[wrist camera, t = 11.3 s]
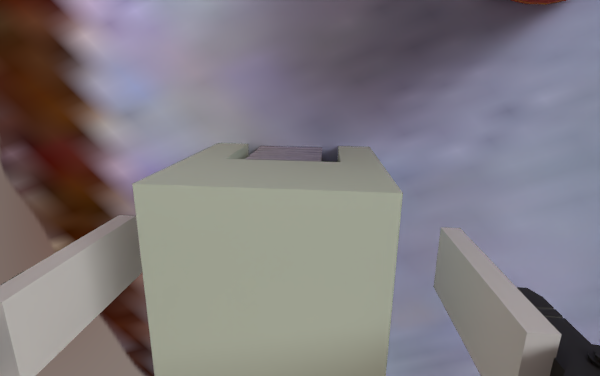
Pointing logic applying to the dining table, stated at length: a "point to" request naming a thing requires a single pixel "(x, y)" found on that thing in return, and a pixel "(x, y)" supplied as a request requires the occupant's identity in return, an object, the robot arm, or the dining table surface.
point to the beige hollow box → (269, 264)
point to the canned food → (538, 1)
